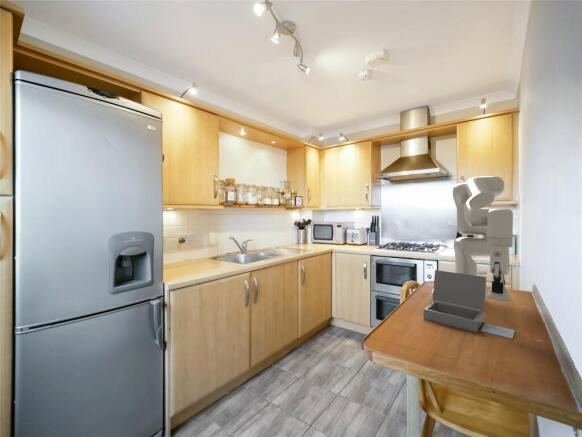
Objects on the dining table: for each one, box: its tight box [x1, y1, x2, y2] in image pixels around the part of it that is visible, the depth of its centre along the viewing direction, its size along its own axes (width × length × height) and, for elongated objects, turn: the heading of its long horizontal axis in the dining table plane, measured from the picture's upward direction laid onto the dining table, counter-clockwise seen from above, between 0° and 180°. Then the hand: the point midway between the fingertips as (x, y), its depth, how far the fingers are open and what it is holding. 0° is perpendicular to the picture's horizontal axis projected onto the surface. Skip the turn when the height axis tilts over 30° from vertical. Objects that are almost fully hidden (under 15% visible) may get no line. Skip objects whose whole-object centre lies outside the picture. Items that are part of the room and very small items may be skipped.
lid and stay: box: [427, 269, 487, 313], centre depth 112 cm, size 9×19×15 cm, turn 46°
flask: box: [485, 272, 512, 303], centre depth 97 cm, size 7×7×10 cm
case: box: [423, 300, 484, 333], centre depth 108 cm, size 15×18×5 cm
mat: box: [480, 323, 516, 340], centre depth 97 cm, size 9×9×1 cm
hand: (498, 291), depth 97 cm, fingers closed on flask, 4 cm apart
